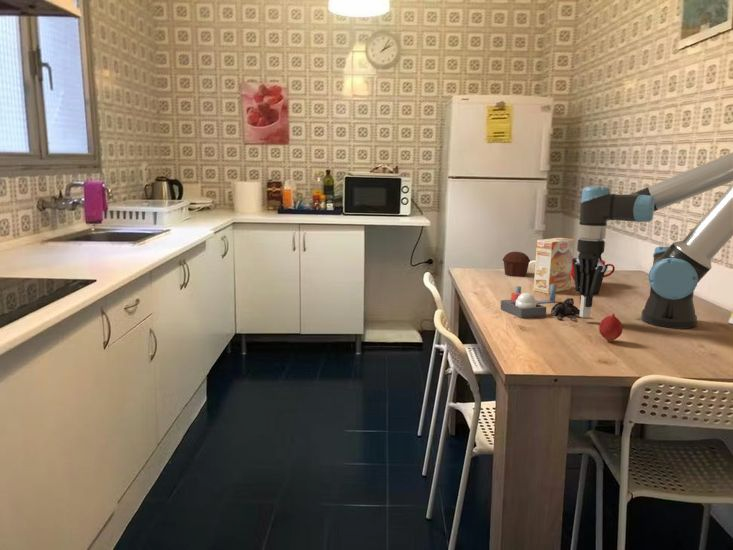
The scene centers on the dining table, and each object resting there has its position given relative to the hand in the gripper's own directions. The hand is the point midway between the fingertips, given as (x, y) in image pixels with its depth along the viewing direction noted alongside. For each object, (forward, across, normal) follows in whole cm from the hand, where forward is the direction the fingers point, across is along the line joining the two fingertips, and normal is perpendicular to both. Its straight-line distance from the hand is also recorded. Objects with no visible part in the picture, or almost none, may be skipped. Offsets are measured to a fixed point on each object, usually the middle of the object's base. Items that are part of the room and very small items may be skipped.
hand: (584, 316), depth 177 cm
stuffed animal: (+3, +8, 0) cm, 8 cm away
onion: (+2, -19, +7) cm, 20 cm away
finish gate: (+2, +26, 0) cm, 26 cm away
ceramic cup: (+2, +46, -41) cm, 62 cm away
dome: (+1, +14, +12) cm, 18 cm away
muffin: (+2, +74, -24) cm, 78 cm away
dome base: (+2, +15, +12) cm, 19 cm away
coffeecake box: (+2, +43, -20) cm, 47 cm away
